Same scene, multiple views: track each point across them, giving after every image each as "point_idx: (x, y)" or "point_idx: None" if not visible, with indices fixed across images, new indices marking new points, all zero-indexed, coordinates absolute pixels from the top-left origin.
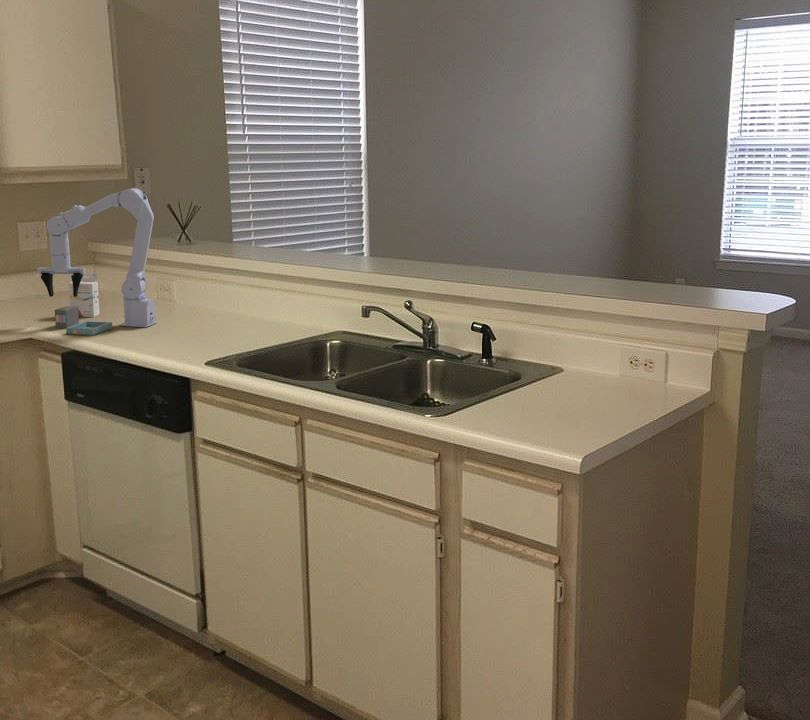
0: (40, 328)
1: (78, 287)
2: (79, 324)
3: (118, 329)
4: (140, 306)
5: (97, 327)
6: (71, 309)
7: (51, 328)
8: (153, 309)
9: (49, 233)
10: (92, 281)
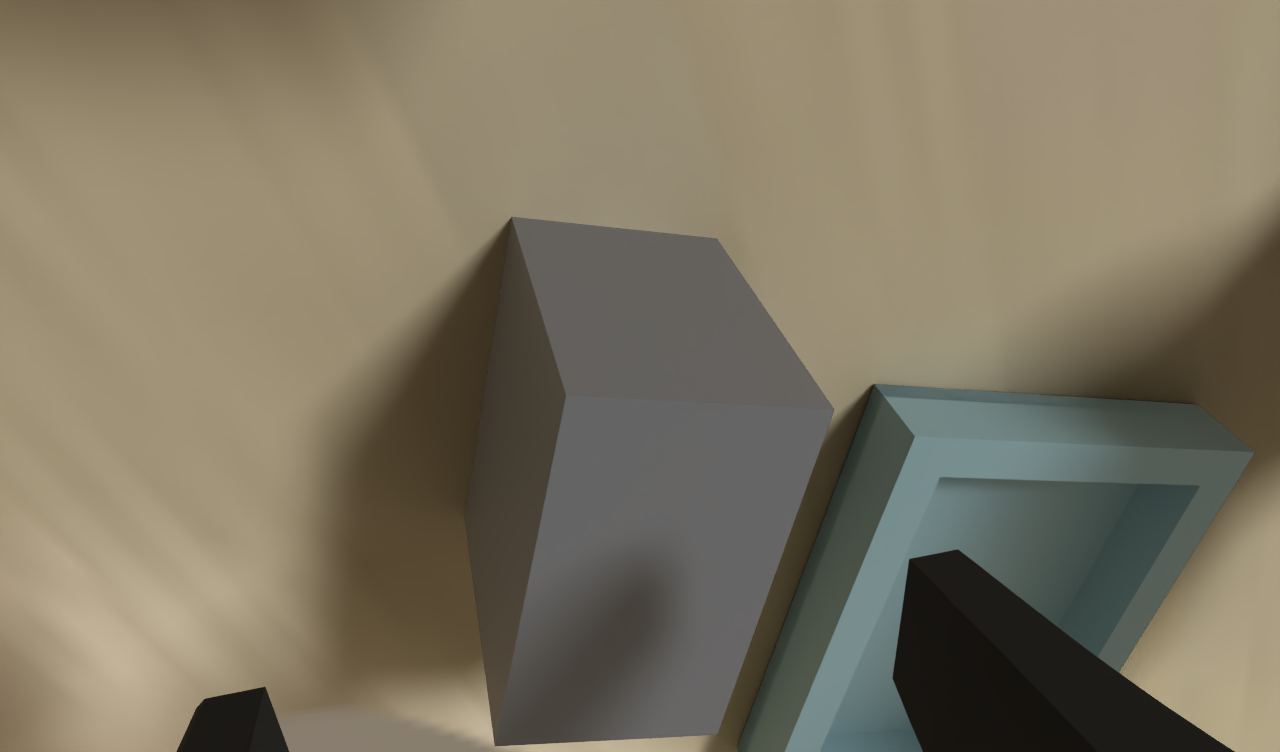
0: (253, 586)
1: (1146, 714)
2: (867, 640)
3: (1258, 436)
4: None
5: None
6: (760, 590)
7: (416, 554)
8: None
9: None
10: None
